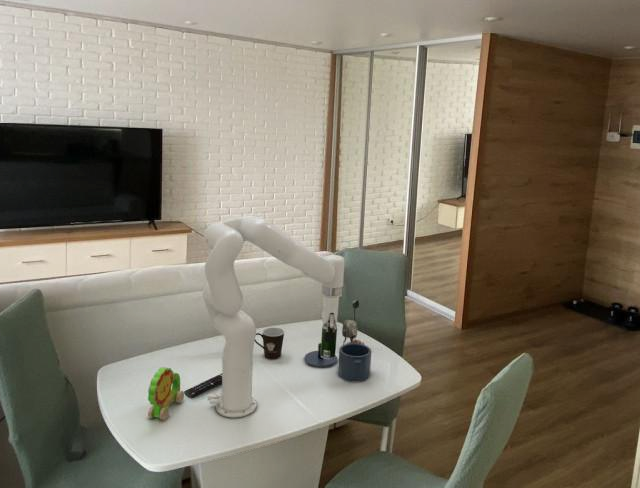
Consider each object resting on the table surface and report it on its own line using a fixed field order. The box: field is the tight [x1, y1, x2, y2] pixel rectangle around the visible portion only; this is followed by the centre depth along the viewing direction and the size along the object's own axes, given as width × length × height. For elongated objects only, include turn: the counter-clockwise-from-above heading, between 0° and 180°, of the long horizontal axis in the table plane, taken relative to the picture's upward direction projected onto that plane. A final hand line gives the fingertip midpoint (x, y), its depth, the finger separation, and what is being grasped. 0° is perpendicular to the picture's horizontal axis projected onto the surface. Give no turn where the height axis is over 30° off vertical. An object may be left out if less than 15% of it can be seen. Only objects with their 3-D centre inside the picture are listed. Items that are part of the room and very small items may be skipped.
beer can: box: [320, 322, 338, 359], centre depth 189 cm, size 5×5×12 cm
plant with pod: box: [341, 298, 365, 346], centre depth 217 cm, size 8×11×20 cm
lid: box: [303, 342, 338, 368], centre depth 205 cm, size 13×13×7 cm
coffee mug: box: [254, 327, 285, 361], centre depth 207 cm, size 12×9×10 cm
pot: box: [337, 341, 372, 383], centre depth 195 cm, size 12×17×10 cm
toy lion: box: [147, 366, 185, 421], centre depth 164 cm, size 16×6×15 cm, turn 170°
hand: (328, 338), depth 188 cm, fingers closed on beer can, 5 cm apart
